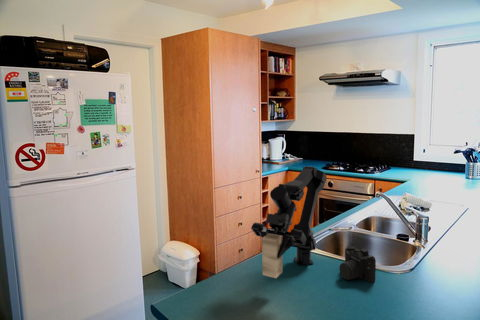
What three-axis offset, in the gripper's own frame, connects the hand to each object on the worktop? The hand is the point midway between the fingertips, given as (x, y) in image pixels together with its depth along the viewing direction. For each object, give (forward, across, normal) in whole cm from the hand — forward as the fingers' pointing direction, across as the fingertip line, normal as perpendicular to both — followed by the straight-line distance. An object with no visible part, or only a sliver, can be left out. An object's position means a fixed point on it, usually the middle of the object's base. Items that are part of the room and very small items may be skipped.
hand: (270, 256), depth 120 cm
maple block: (+4, 0, +6) cm, 7 cm away
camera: (-9, +21, +29) cm, 37 cm away
